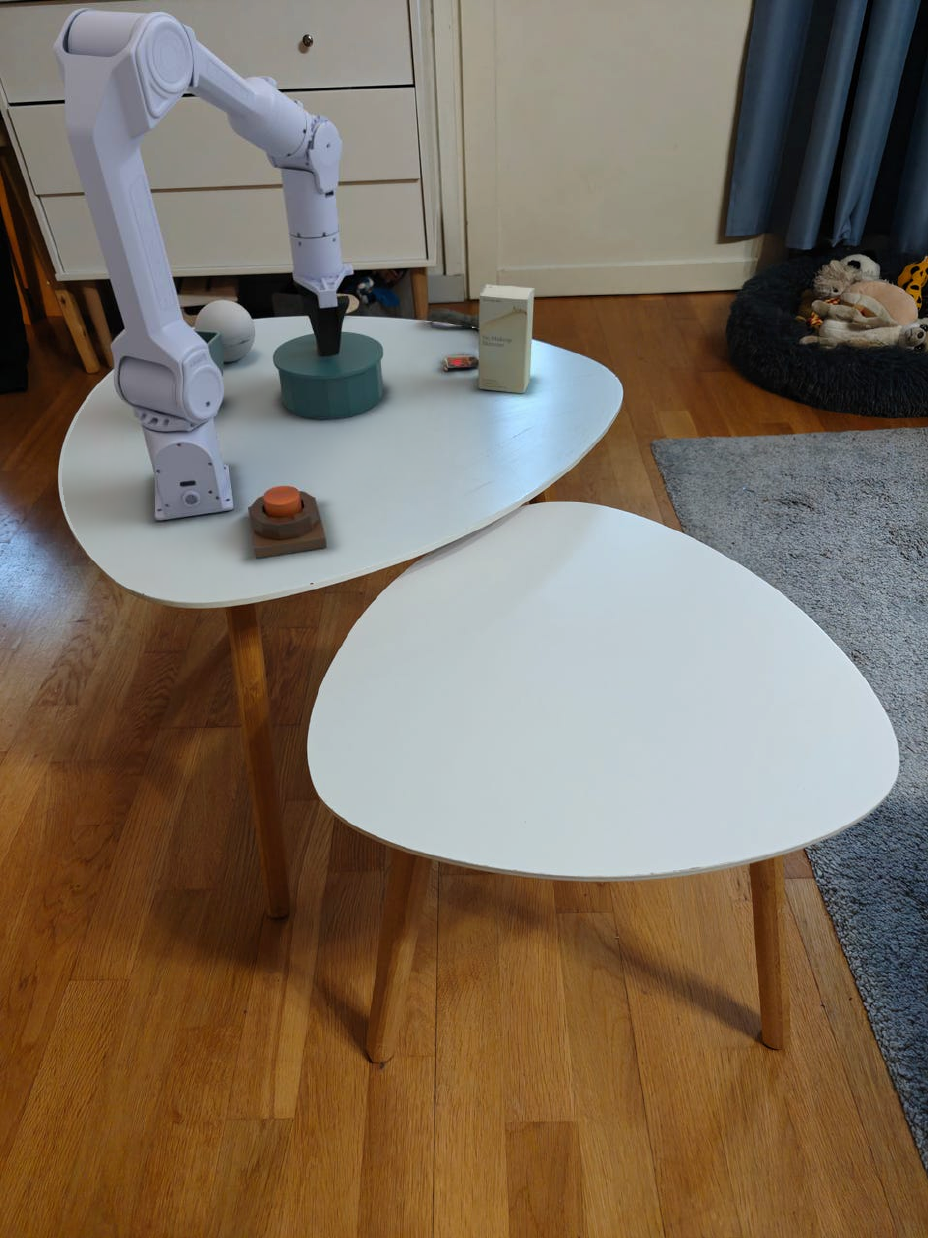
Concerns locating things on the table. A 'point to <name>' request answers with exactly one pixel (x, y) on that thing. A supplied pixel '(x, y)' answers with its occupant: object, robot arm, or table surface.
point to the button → (282, 501)
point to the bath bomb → (228, 327)
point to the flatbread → (351, 303)
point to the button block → (286, 529)
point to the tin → (332, 394)
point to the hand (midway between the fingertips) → (327, 345)
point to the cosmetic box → (505, 338)
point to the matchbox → (461, 361)
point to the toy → (454, 317)
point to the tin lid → (327, 357)
